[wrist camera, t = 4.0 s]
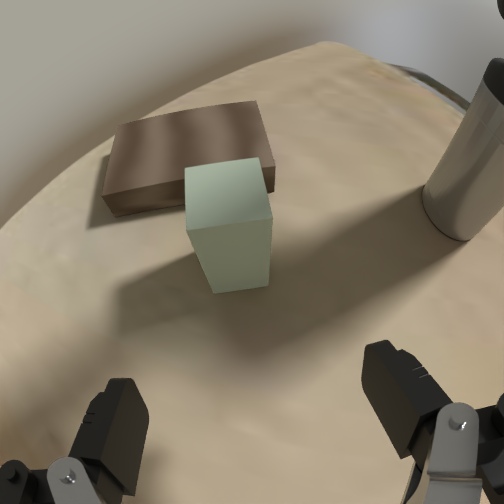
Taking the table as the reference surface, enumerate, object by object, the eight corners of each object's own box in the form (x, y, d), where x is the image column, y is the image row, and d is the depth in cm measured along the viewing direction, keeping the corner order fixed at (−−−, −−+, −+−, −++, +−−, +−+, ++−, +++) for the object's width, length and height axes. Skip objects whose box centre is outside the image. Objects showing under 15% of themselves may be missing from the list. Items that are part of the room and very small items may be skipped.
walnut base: (256, 124, 37) (256, 100, 33) (274, 191, 31) (275, 166, 28) (127, 146, 36) (118, 125, 32) (115, 217, 31) (101, 195, 27)
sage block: (259, 238, 29) (258, 157, 19) (268, 285, 27) (272, 217, 17) (208, 245, 29) (184, 168, 19) (213, 294, 26) (186, 230, 17)
